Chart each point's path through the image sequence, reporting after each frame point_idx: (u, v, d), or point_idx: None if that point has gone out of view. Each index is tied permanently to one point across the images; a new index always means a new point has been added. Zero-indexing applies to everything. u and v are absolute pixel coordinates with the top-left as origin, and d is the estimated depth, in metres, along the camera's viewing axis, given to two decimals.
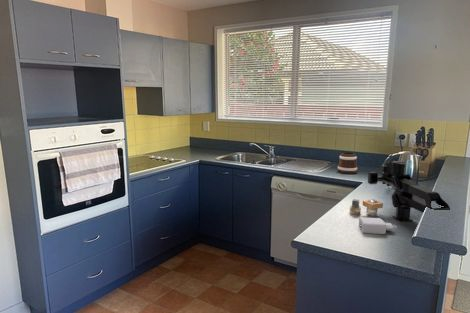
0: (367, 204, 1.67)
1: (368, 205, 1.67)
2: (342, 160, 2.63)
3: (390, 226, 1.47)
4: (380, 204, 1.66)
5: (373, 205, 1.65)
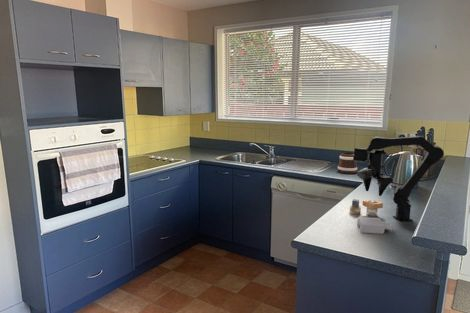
0: (367, 204, 1.67)
1: (368, 205, 1.67)
2: (342, 160, 2.63)
3: (388, 226, 1.48)
4: (380, 204, 1.66)
5: (373, 205, 1.65)
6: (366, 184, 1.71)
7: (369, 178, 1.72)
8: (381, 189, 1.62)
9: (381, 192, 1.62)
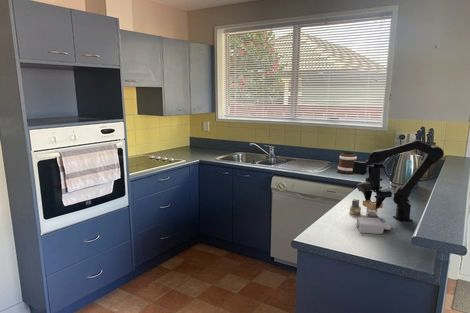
0: (367, 204, 1.67)
1: (368, 205, 1.67)
2: (342, 160, 2.63)
3: (387, 226, 1.47)
4: None
5: (373, 205, 1.65)
6: (367, 197, 1.72)
7: (370, 191, 1.72)
8: (378, 202, 1.64)
9: (378, 205, 1.65)
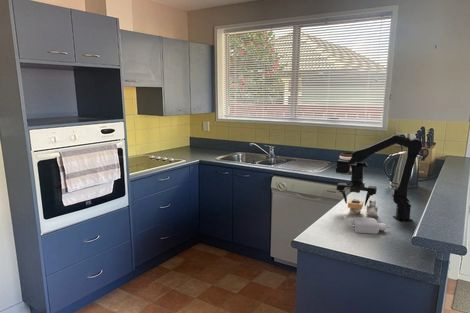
0: (355, 205, 1.69)
1: (356, 206, 1.69)
2: (342, 160, 2.63)
3: (383, 226, 1.47)
4: (362, 202, 1.72)
5: (362, 205, 1.69)
6: (346, 197, 1.73)
7: (346, 190, 1.75)
8: None
9: None
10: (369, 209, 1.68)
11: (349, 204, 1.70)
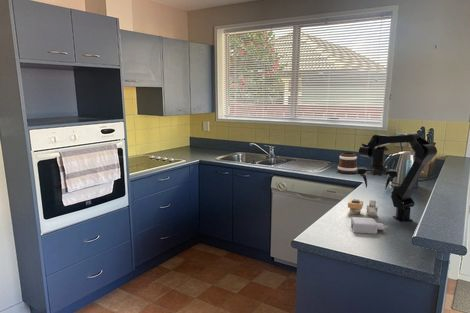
0: (355, 205, 1.69)
1: (356, 206, 1.69)
2: (342, 160, 2.63)
3: (381, 226, 1.47)
4: (362, 202, 1.72)
5: (362, 205, 1.69)
6: (366, 181, 1.77)
7: (366, 174, 1.79)
8: (388, 182, 1.73)
9: (387, 185, 1.74)
10: (369, 209, 1.68)
11: (349, 204, 1.70)
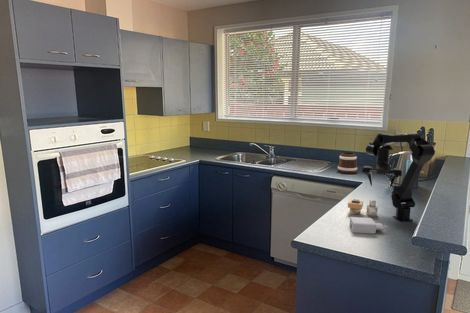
0: (355, 205, 1.69)
1: (356, 206, 1.69)
2: (342, 160, 2.63)
3: (380, 226, 1.48)
4: (362, 202, 1.72)
5: (362, 205, 1.69)
6: (371, 179, 1.78)
7: (371, 173, 1.80)
8: (393, 181, 1.74)
9: None
10: (369, 209, 1.68)
11: (349, 204, 1.70)
